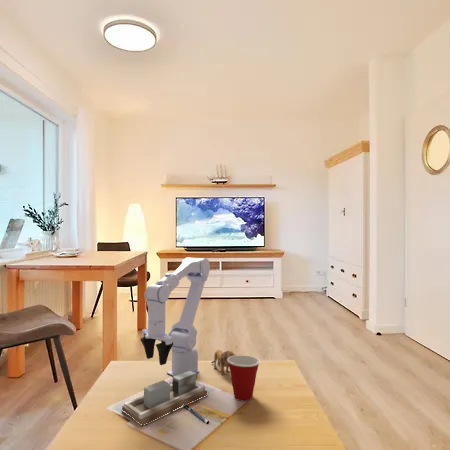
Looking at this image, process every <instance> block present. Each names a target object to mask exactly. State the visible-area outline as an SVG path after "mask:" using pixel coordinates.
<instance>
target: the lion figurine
mask: <svg viewBox="0 0 450 450" xmlns="http://www.w3.org/2000/svg"><path fill="white" fill-rule="evenodd" d="M236 355H237V354H235V353H234V350H230V349H229V350H227V351H224V352H222V350H220V349H217V350H215V352H214V360H213V361H211V364H214V365H213V369H214V370H216V369H217V365H218V366H220V370H221V372H220V373H221V376H224V375H225V374H226V373H227V374H231V373H230V370H229V369H230V368H229V363H228V361H227V358H228V357H231V356H236ZM225 368H226V369H225Z"/></svg>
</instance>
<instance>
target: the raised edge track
mask: <svg viewBox="0 0 450 450" xmlns="http://www.w3.org/2000/svg"><path fill="white" fill-rule="evenodd" d="M196 375H197V373H194V372H192V371H187V372H185V373H182V374H180V375H177V376H172V383H170V400H169V401H166V402H164V403H162V404H160V405H157V406H155V407H153V408H148V407H147V406H145V405H144V394H143V395H141V396H138V397H136V398H134V399H131V400H128V401H126V402H124V403H123V405H122V406H121V411H122V410H123V411H125V412H126V413H127V414H129V415H130V416H131V417H133V418H134V419H135V420H136V421H137V422H139V423H140V424H142V425H144V424H146V423H149V422H151V421H153V420H155V419H157V418H159V417H161V416H163V415H165V414H167V413H169V412H172V411H173V410H175V409H177V408H179V407H181V406H182V405H183V404H188V403H190V402H192V401H195V400H197V399H199V398H201V397H204V396H206V395H207V396H208V390H206V386H205V385H201V386H198V385H196V384H197V383H196V382H197V381H196V379H197V376H196ZM207 396H206V397H207ZM204 398H205V397H204ZM197 401H198V400H197ZM195 402H196V401H195ZM172 413H173V412H172ZM159 419H160V418H159ZM157 420H158V419H157ZM136 421H135V422H136ZM155 421H156V420H155ZM137 422H136V423H137ZM153 422H154V421H153ZM139 423H138V424H139ZM151 423H152V422H151ZM140 424H139V425H140ZM149 424H150V423H149Z"/></svg>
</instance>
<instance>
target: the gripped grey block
mask: <svg viewBox="0 0 450 450" xmlns="http://www.w3.org/2000/svg"><path fill="white" fill-rule="evenodd" d="M170 385H171V383H170V382H168V381H165V379H164V380H161V381H158V382H155V383H152V384H150V385H147V386H145V387H143V395H144V405H145V406H147V407H148V408H153V407H155V406H157V405H160V404H162V403H164V402H166V401H169V400H170Z"/></svg>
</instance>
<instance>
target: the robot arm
mask: <svg viewBox="0 0 450 450" xmlns="http://www.w3.org/2000/svg"><path fill="white" fill-rule="evenodd" d="M210 264H211V263H210V261H209V259H208V258H207V257H202V258H201V257H189V256H186V257H185V258H184V259H182V260H181V264H180V265H179V267H177V268H176V269H175V270H174V271H173V272H166V273H165V274H164V276H162V277H161V278H160V279H159V280H157V281H156V282H155V283H154V284H153V283H152V284H149V285H148V286H147V287H146V289H145V291H144V293H143V294H144V295H143V296H144V298H145V301H146V306H147V328H143V329H142V330H141V332H142V333H141V335H142V336H143V337H140V342H141V344H142V345H143V349H144V351H145V352H144V353H145V356H146V359H147V360H149V359H153V358H154V353H155V346H156V349H157V352H158V362H159V365H160V366H163V365H165V364H167V361H168V359H169V358H168V357H169V354H170V352H171V369H170V370H168V371H166V374H168V375H170V376H172V377H174V376H177V375H180V374H182V373H185V372H187V371H192V372H194V373H196V374H197V373H199V372H200V370H199V367H198V363H199V360H198V359H199V357H198V351H197V348H196V347H195V346H196V345H197V344H196V343H197V334H198V331H197V328H195V326H194V322H195V318H196V314H197V311H198V308H199V304H200V300H201V298H202V294H203V290H204V287H205V285H206V284H205V283H206V281H208V277H209V274H210V270H211V265H210ZM184 277H186V278H187V280H188V281H190V286H189V289H188V291H187V295H186V299H185V302H184V306H183V308H182V312H181V315H180V319H179V321H177V322H176V323H174V324H173V325H172V327H171V329H170V331H169V332H168V333H167V332H166V302H167V301H168V300H169V298H170V295H171V293H172V292H173V291H174V290H175V289H176V288H177V287H179V285H180V280H182V279H183V278H184ZM156 341H159V342H160V343H156Z"/></svg>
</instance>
